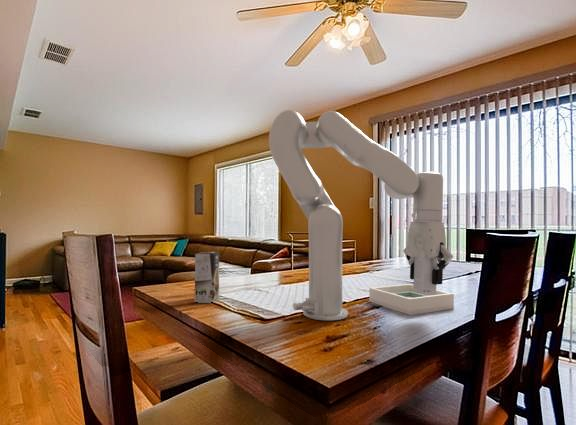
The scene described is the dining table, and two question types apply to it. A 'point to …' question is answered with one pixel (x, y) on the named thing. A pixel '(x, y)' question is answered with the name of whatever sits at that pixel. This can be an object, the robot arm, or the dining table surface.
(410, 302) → the tray
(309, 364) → the dining table surface
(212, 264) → the coffee box
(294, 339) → the dining table surface
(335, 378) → the dining table surface
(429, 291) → the skincare box
